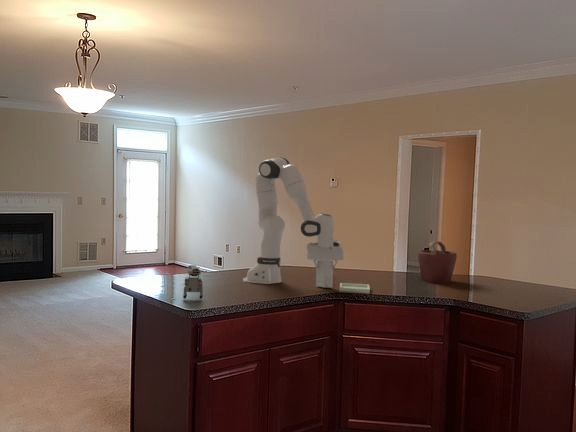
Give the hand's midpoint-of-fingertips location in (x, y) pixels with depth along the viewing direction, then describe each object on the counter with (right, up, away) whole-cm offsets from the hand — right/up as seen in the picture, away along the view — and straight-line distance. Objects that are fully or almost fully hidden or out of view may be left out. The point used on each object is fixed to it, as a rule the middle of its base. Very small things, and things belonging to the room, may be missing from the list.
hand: (325, 267), depth 293 cm
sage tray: (+16, -12, -4) cm, 20 cm away
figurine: (-66, -11, -38) cm, 77 cm away
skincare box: (-1, -11, +1) cm, 11 cm away
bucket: (+70, -12, +35) cm, 79 cm away
